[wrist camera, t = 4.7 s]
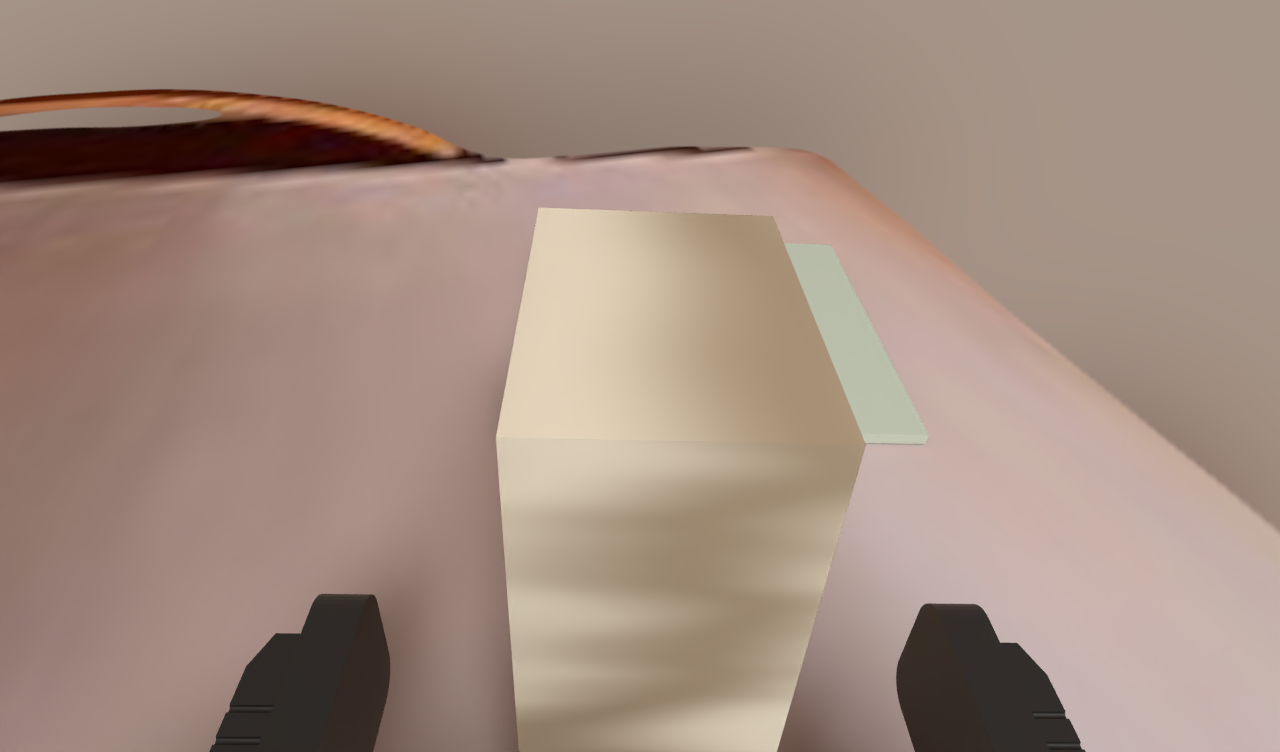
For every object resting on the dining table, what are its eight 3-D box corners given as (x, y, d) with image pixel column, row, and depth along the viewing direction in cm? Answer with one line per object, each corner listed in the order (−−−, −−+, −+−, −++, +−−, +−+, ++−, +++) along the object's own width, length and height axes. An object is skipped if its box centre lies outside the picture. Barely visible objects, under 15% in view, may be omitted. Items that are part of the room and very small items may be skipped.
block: (528, 884, 15) (495, 437, 8) (549, 618, 19) (538, 207, 13) (738, 882, 15) (865, 444, 8) (707, 619, 20) (772, 215, 13)
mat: (501, 435, 25) (500, 425, 25) (535, 242, 36) (535, 234, 36) (925, 443, 26) (928, 434, 26) (829, 252, 37) (831, 244, 37)
